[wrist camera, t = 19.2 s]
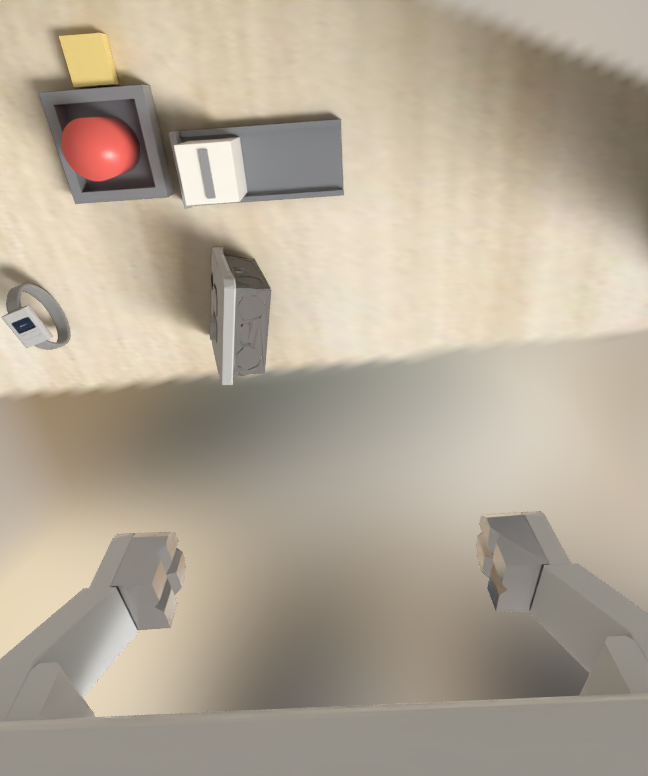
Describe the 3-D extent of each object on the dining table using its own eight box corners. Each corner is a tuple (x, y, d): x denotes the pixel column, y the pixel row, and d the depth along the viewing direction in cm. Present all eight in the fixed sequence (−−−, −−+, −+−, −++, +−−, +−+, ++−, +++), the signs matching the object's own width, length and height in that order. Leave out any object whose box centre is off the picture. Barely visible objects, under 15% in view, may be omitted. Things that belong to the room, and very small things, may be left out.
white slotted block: (239, 137, 36) (229, 141, 32) (247, 191, 38) (239, 202, 34) (189, 140, 36) (173, 145, 32) (199, 195, 38) (185, 206, 34)
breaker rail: (340, 118, 36) (341, 119, 34) (343, 193, 39) (344, 197, 37) (175, 131, 36) (168, 132, 34) (190, 203, 39) (184, 208, 37)
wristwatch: (86, 329, 45) (61, 353, 41) (62, 338, 46) (36, 363, 41) (44, 271, 42) (13, 290, 38) (20, 282, 42) (-14, 302, 38)
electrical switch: (212, 242, 41) (199, 278, 33) (270, 249, 42) (271, 285, 34) (211, 337, 46) (200, 387, 38) (264, 341, 47) (263, 391, 39)
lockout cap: (140, 123, 35) (119, 125, 32) (140, 178, 38) (120, 186, 34) (87, 110, 35) (58, 111, 31) (89, 166, 37) (63, 174, 33)
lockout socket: (138, 31, 33) (129, 28, 31) (174, 193, 38) (167, 197, 37) (33, 40, 33) (20, 37, 31) (84, 199, 39) (75, 203, 37)
